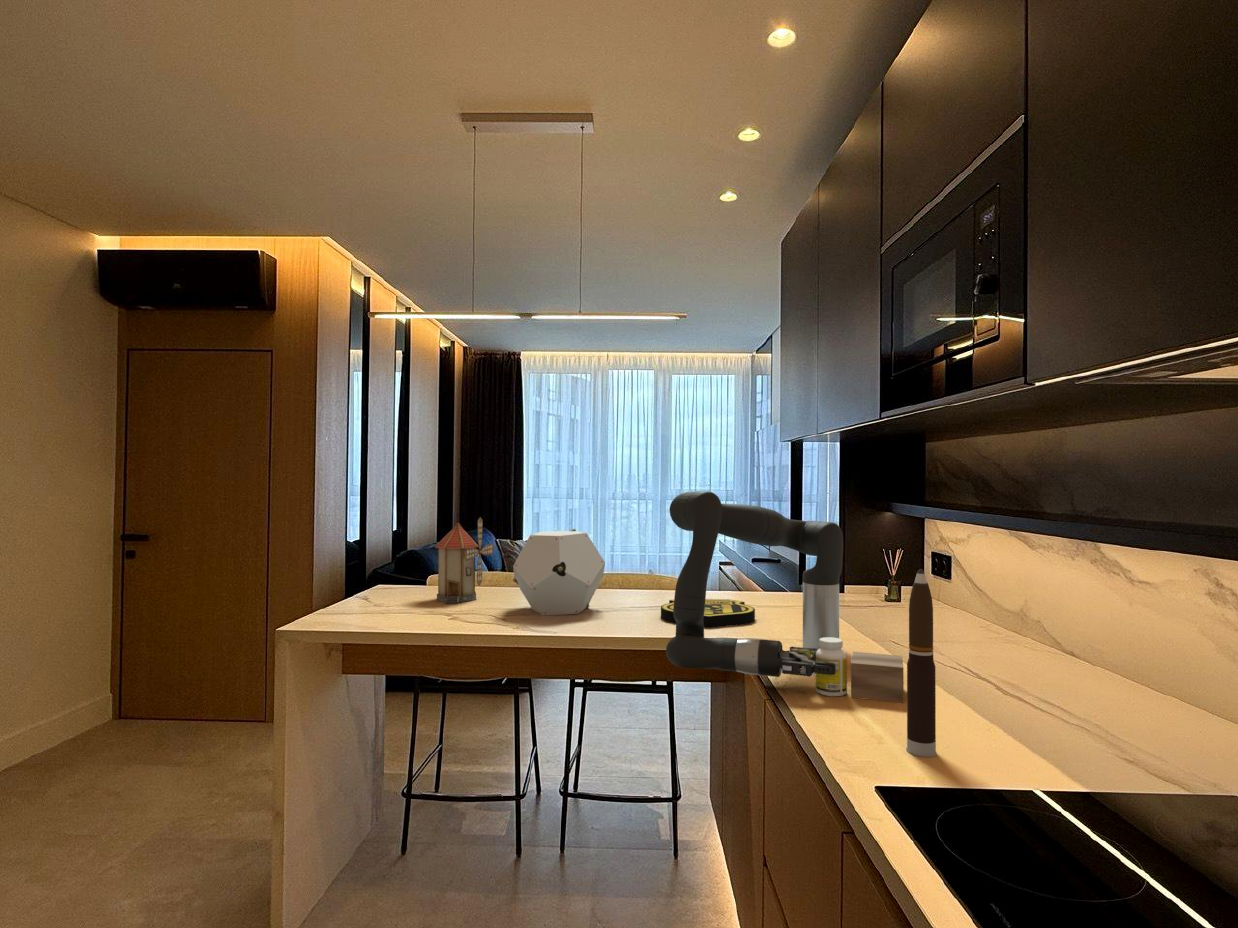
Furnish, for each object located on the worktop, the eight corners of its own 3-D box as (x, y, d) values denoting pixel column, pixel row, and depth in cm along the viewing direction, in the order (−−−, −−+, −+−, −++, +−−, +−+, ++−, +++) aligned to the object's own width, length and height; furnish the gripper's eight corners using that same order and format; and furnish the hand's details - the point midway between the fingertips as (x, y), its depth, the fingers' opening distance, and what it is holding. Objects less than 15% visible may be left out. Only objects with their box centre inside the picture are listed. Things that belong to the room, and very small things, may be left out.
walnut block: (852, 683, 155) (852, 651, 155) (902, 688, 151) (902, 655, 152) (850, 697, 146) (850, 662, 146) (903, 702, 142) (903, 667, 142)
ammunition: (929, 746, 119) (929, 567, 120) (941, 757, 115) (940, 570, 115) (902, 746, 119) (901, 566, 120) (912, 756, 115) (911, 570, 115)
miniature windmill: (482, 606, 244) (483, 518, 245) (425, 606, 244) (426, 518, 245) (493, 594, 269) (494, 514, 269) (441, 594, 268) (442, 514, 269)
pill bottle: (833, 686, 153) (833, 635, 153) (853, 694, 147) (853, 641, 147) (809, 690, 150) (809, 637, 151) (829, 698, 145) (829, 644, 145)
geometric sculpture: (604, 627, 244) (634, 556, 233) (532, 644, 224) (561, 567, 212) (557, 574, 263) (583, 506, 251) (487, 585, 243) (511, 511, 231)
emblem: (658, 615, 213) (662, 597, 243) (658, 627, 213) (662, 608, 243) (758, 617, 210) (750, 599, 240) (758, 630, 210) (750, 611, 240)
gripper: (753, 646, 148) (834, 653, 142) (763, 632, 161) (838, 638, 155) (753, 683, 147) (834, 691, 142) (763, 666, 161) (839, 673, 155)
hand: (836, 664), depth 149 cm, fingers open, 8 cm apart
